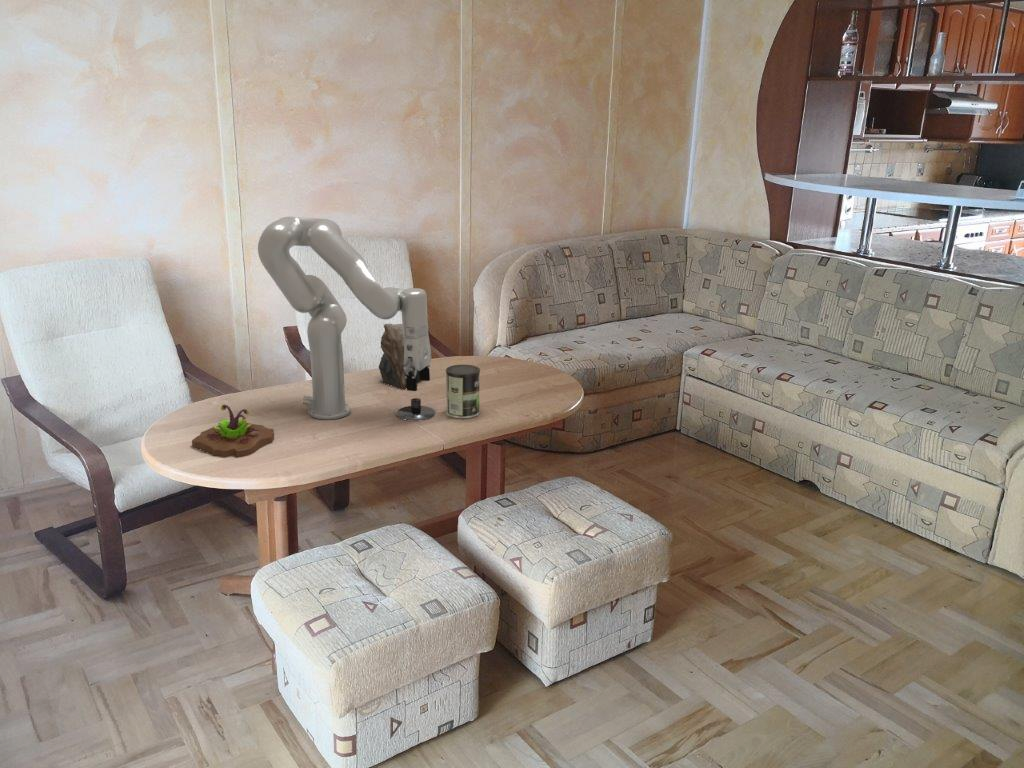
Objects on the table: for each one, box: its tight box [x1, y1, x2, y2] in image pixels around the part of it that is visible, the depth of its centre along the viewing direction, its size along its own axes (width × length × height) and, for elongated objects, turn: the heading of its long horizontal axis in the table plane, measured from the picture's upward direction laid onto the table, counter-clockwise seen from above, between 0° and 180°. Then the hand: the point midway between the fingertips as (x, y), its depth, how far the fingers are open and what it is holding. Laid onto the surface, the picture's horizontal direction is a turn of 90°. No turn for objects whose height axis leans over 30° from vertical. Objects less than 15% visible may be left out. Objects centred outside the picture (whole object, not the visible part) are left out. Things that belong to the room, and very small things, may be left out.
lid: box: [396, 397, 436, 422], centre depth 258 cm, size 12×12×5 cm
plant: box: [191, 404, 275, 458], centre depth 233 cm, size 20×20×11 cm
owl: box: [378, 323, 422, 391], centre depth 284 cm, size 13×13×20 cm
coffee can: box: [445, 364, 481, 419], centre depth 258 cm, size 10×10×14 cm
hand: (418, 385), depth 256 cm, fingers open, 9 cm apart
